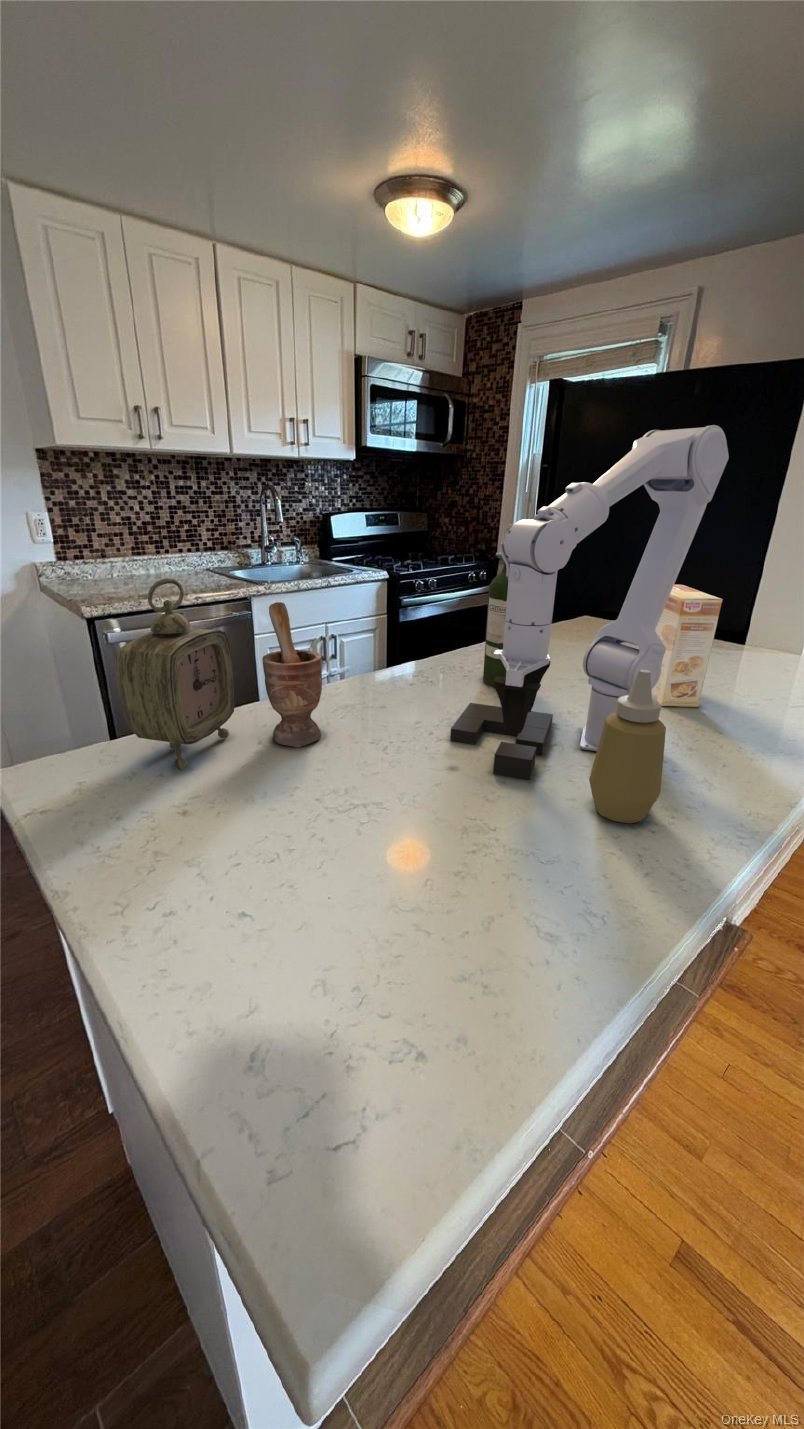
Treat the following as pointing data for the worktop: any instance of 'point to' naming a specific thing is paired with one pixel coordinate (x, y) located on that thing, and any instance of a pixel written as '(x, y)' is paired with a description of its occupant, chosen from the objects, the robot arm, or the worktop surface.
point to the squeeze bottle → (630, 756)
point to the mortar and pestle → (292, 684)
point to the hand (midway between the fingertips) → (518, 720)
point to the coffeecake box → (685, 645)
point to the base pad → (500, 726)
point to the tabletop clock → (176, 680)
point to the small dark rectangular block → (514, 760)
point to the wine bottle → (495, 625)
